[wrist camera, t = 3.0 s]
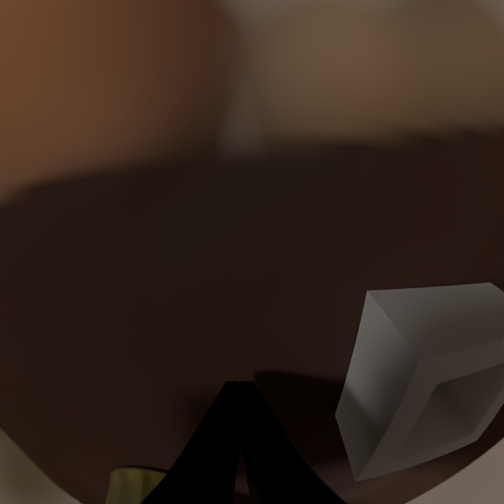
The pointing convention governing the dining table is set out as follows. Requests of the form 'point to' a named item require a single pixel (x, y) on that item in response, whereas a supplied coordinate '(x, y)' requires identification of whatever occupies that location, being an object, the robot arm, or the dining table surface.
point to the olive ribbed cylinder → (132, 484)
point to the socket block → (422, 375)
